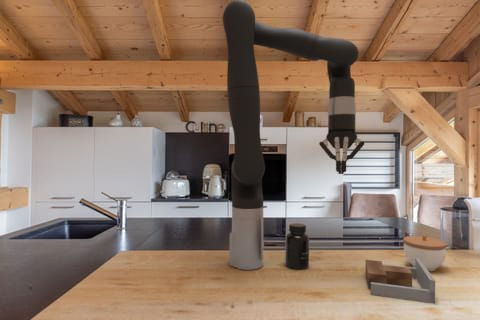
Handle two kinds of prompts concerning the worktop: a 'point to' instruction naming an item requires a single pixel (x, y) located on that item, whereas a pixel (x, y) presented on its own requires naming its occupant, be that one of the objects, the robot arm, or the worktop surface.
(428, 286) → the grey fence
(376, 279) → the t block
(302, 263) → the supplement bottle
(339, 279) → the worktop surface
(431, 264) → the lidded jar
